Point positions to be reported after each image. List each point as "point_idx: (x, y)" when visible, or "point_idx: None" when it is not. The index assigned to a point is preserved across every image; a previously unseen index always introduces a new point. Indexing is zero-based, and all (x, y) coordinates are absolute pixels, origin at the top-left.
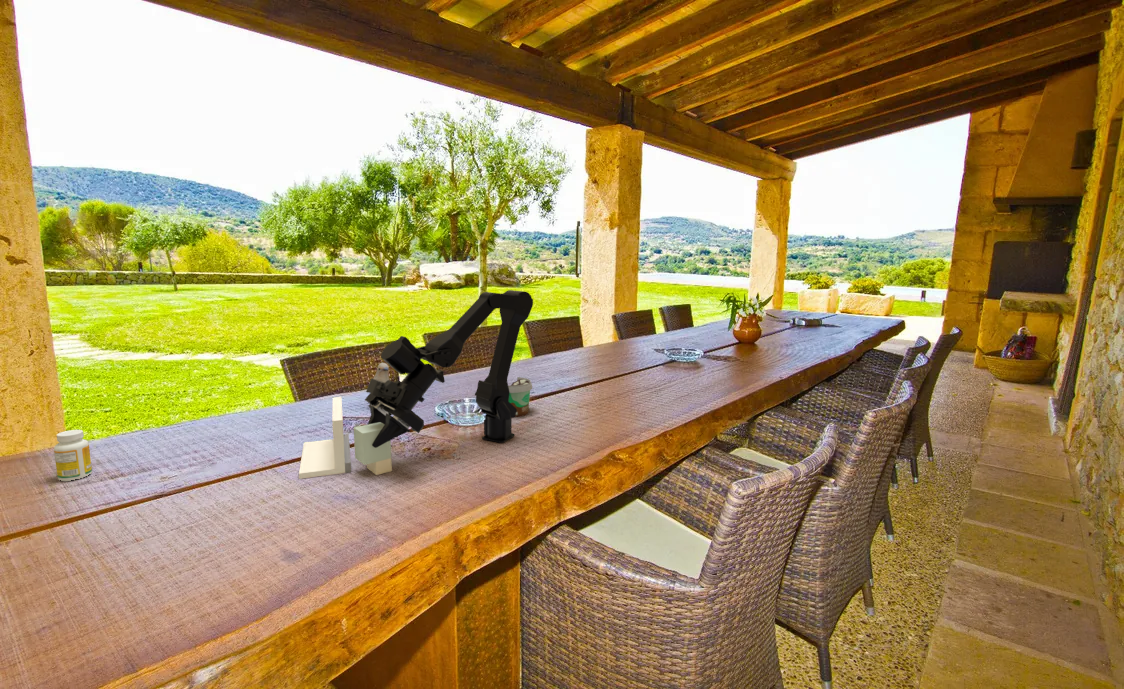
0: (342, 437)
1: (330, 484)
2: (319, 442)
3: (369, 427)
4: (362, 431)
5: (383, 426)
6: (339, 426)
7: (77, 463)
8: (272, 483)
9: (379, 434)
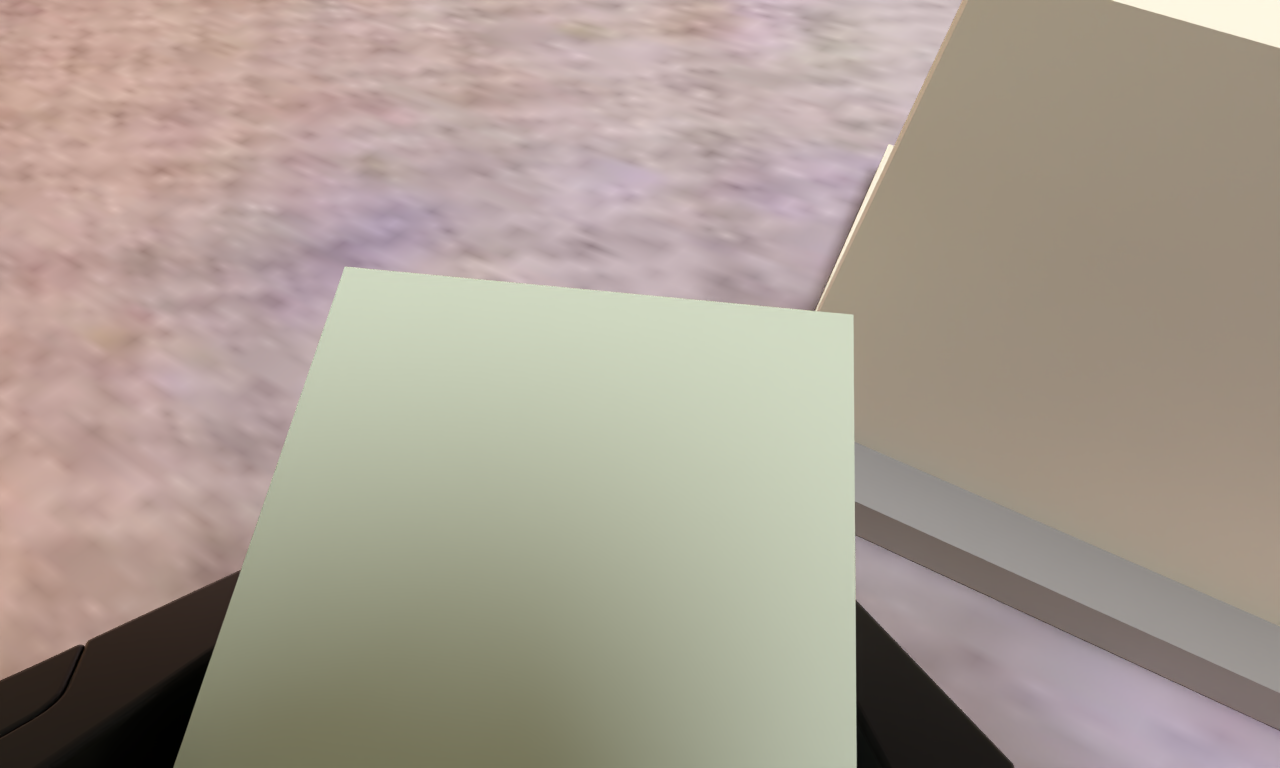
0: (853, 238)
1: (626, 271)
2: None
3: (586, 569)
4: (456, 317)
5: (24, 763)
6: (939, 55)
7: None
8: (912, 58)
9: (211, 614)
